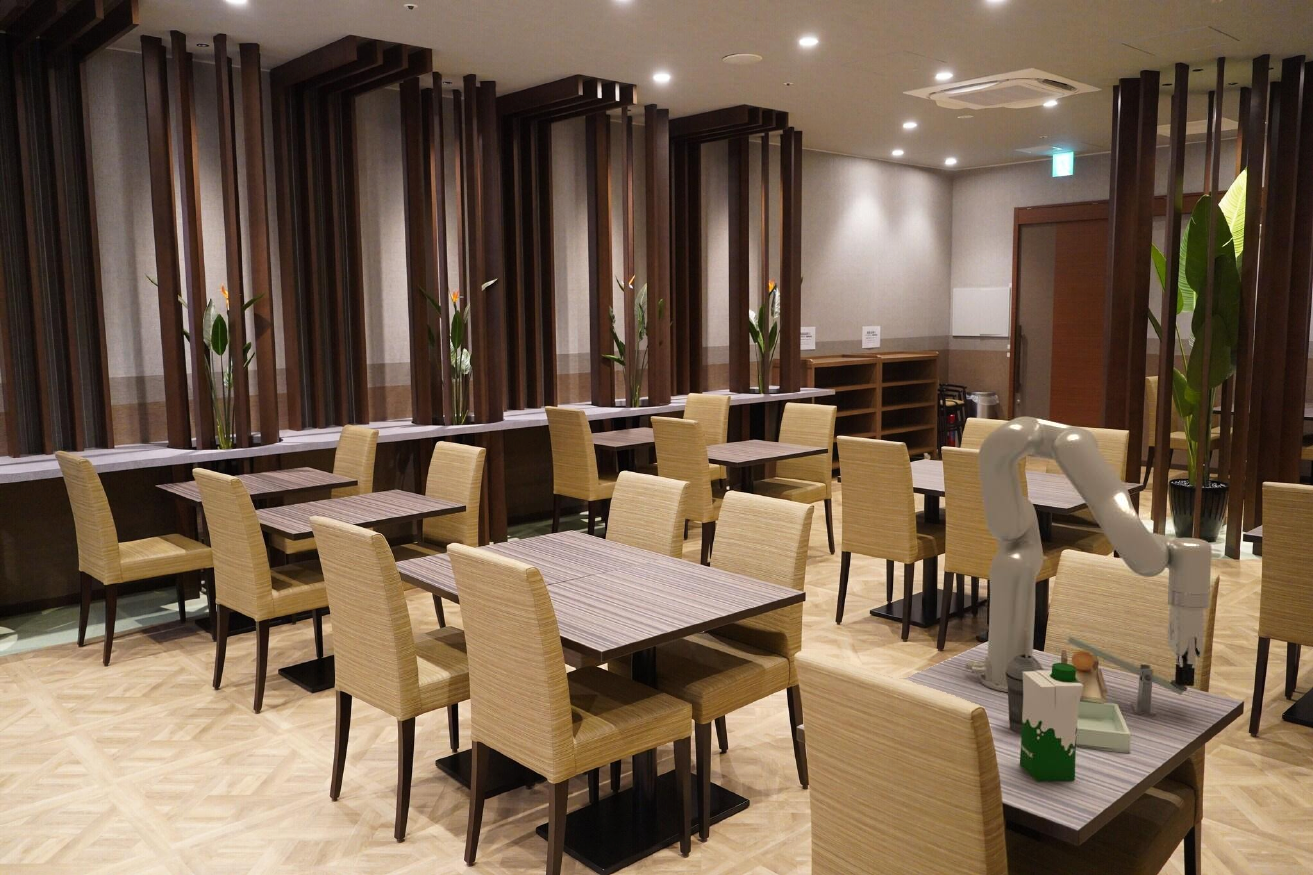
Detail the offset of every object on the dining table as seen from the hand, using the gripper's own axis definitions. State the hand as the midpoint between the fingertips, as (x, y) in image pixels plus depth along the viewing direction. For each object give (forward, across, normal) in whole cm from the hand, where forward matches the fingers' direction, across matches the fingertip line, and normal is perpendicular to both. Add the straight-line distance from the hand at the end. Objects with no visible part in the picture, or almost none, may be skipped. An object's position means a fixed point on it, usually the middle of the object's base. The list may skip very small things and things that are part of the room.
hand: (1184, 684), depth 205 cm
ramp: (+6, +2, -20) cm, 21 cm away
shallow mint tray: (+6, +15, -20) cm, 26 cm away
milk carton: (+6, +36, -30) cm, 47 cm away
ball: (-3, -2, -19) cm, 20 cm away
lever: (-2, 0, -11) cm, 12 cm away
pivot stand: (+7, 0, -8) cm, 10 cm away
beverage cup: (+6, +18, -33) cm, 38 cm away
